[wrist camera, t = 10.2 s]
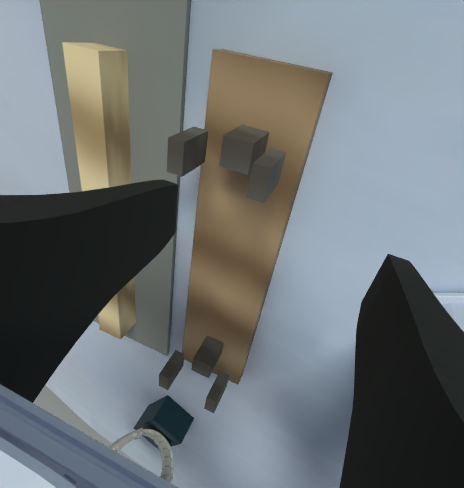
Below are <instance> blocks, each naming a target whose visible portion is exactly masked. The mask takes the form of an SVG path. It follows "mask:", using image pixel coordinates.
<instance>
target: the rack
mask: <svg viewBox="0 0 464 488" xmlns="http://www.w3.org/2000/svg"><path fill="white" fill-rule="evenodd" d="M331 76H332V73H331V72H327V71H322V70H317V69H313V68H308V67H303V66H298V65H294V64H289V63H284V62H280V61H275V60H270V59H266V58H261V57H256V56H251V55H247V54H242V53H237V52H233V51H228V50H223V49H213V51H212V61H211V71H210V81H209V91H208V101H207V111H206V121H205V130H204V129H200V128H197V127H192V128H189V129H187V130H185V131H182V132H180V133H177V134H175V135H173V136H170V137H168V150H167V172H169V173H172V174H175V175H178V176H181V177H182V176H184V175H185V174H187V173H188V172H190V171H192V170H193V169H195V168H196V167H198V166H199V165H201V170H200V180H199V190H198V200H197V210H196V220H195V230H194V240H193V250H192V260H191V270H190V280H189V290H188V300H187V310H186V320H185V329H184V339H183V349H182V353H181V352H179V351H175V352H174V353H173V355H172V356H171V358H170V359H169V361H168V362H167V364H166V365H165V367H164V368H163V370H162V371H161V372H160V374H159V386H161V387H163V388H165V389H167V390H168V389H169V387H170V386H171V384H172V383H173V381H174V379H175V378H176V376H177V375H178V373H179V371H180V370H181V368H182V367H183V362H184V359H185V360H187V361H189V362H191V363H192V370H193V371H195V372H197V373H199V374H201V375H203V376H205V377H208V378H209V376H210V375H211V373H215V374H217V375H218V376H217V378H216V380H215V382H214V384H213V386H212V388H211V390H210V392H209V394H208V396H207V398H206V403H205V408H204V409H206V410H208V411H210V412H212V413H214V412H215V410H216V408H217V405H218V403H219V401H220V399H221V397H222V395H223V393H224V390H225V388H226V386H227V382H228V380H229V381H231V382H234V383H236V384H239V382H240V379H241V377H242V375H243V371H244V368H245V365H246V361H247V358H248V355H249V351H250V348H251V345H252V341H253V338H254V334H255V331H256V328H257V324H258V321H259V318H260V314H261V311H262V308H263V304H264V301H265V298H266V294H267V291H268V288H269V284H270V281H271V277H272V274H273V271H274V267H275V264H276V261H277V257H278V254H279V251H280V247H281V244H282V241H283V237H284V234H285V230H286V227H287V224H288V220H289V217H290V214H291V210H292V207H293V204H294V200H295V197H296V194H297V190H298V187H299V183H300V180H301V177H302V173H303V170H304V167H305V163H306V160H307V157H308V153H309V150H310V147H311V143H312V140H313V137H314V133H315V130H316V126H317V123H318V120H319V116H320V113H321V110H322V106H323V103H324V100H325V96H326V93H327V90H328V86H329V83H330V79H331Z"/></svg>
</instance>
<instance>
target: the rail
mask: <svg viewBox="0 0 464 488" xmlns="http://www.w3.org/2000/svg"><path fill="white" fill-rule="evenodd" d="M62 45H63V52H64V60H65V67H66V75H67V83H68V90H69V98H70V105H71V113H72V120H73V128H74V136H75V143H76V151H77V158H78V166H79V173H80V181H81V188H82V191H88V190H94V189H101V188H108V187H114V186H120V185H126V184H131V154H130V123H129V93H128V62H127V50H123V49H118V48H114V47H110V46H105V45H101V44H97V43H74V42H62ZM98 317H99V325H100V330H102V331H104V332H106V333H108V334H110V335H112V336H114V337H117V338H119V339H122V337H123V336H124V335H125V334H126V333H127V332H128V331H129V330H130V329H131V327H132V326H133V325H134V324H135V323H136V308H135V277H134V278H133V279H132V280H131V281H129V282H128V283H127V284H126V285H125V286H124V287H123V288H122V289H121V290H120V291H119V292H118V293H117V294H116V295H115V296H114V297H113V298H112V299H111V300H110V301H109V303H108V304H107V305H106V306H105V307H104V308H103V310H102V311H101V312H100V313H99V314H98Z"/></svg>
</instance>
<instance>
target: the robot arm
mask: <svg viewBox="0 0 464 488" xmlns="http://www.w3.org/2000/svg"><path fill="white" fill-rule="evenodd" d="M177 201H178V184H176V183H173V182H170V181H167V180H150V181H143V182H137V183H131V184H126V185H120V186H114V187H108V188H101V189H94V190H88V191H81V192H72V193H62V194H47V195H0V488H178V487H176V486H174V485H172V484H171V483H169V482H167V481H166V480H164V479H162V478H160V477H159V476H157V475H155V474H154V473H152V472H150V471H148V470H147V469H145V468H143V467H142V466H140V465H138V464H136V463H135V462H133V461H131V460H130V459H128V458H126V457H124V456H122V455H121V454H119V453H117V452H116V451H114V450H112V449H111V448H109V447H107V446H105V445H104V444H102V443H100V442H99V441H97V440H95V439H93V438H92V437H90V436H88V435H86V434H85V433H83V432H81V431H80V430H78V429H76V428H74V427H73V426H71V425H69V424H67V423H66V422H64V421H63V420H60V419H59V418H57V417H56V416H54V415H52V414H50V413H49V412H47V411H45V410H44V409H42V408H40V407H38V406H36V405H35V404H33V402H34V400H35V399H36V397H37V396H38V394H39V393H40V391H41V390H42V388H43V387H44V386H45V384H46V383H47V381H48V380H49V378H50V377H51V376H52V374H53V373H54V371H55V370H56V368H57V367H58V366H59V364H60V363H61V362H62V360H63V359H64V358H65V356H66V355H67V354H68V352H69V351H70V349H71V348H72V347H73V345H74V344H75V343H76V341H77V340H78V339H79V338H80V336H81V335H82V334H83V333H84V331H85V330H86V329H87V328H88V326H89V325H90V324H91V323H92V321H93V320H94V319H95V318H96V317H97V315H98V314H99V313H100V312H101V311H102V310H103V308H104V307H105V306H106V305H107V304H108V303H109V301H110V300H111V299H112V298H113V297H114V296H115V295H116V294H117V293H118V292H119V291H120V290H121V289H122V288H123V287H124V286H125V285H126V284H127V283H128V282H129V281H131V280H132V279H133V278H134V277H135V276H136V275H137V274H138V273H139V272H140V271H141V270H142V269H143V268H144V267H146V266H147V265H148V264H149V263H150V262H151V261H152V260H153V259H154V258H155V257H156V256H157V255H158V254H159V253H160V252H161V251H162V250H163V248H164V247H165V246H166V245H167V244H168V242H169V241H170V240H171V238H172V237H173V235H174V234H175V233H176V218H177ZM340 488H464V293H433V292H432V291H431V289H430V288H429V287H428V285H427V284H426V282H425V281H424V280H423V278H422V277H421V275H420V274H419V273H418V271H417V270H416V269H415V267H414V266H413V265H412V264H411V262H410V261H408V260H405V259H402V258H399V257H396V256H393V255H390V254H388V255H387V257H386V258H385V260H384V262H383V264H382V266H381V268H380V269H379V271H378V273H377V275H376V277H375V279H374V280H373V282H372V284H371V286H370V288H369V289H368V291H367V293H366V295H365V297H364V299H363V300H362V303H361V308H360V313H359V318H358V323H357V330H356V351H355V379H354V399H353V410H352V416H351V423H350V429H349V436H348V442H347V448H346V454H345V460H344V466H343V471H342V477H341V482H340Z"/></svg>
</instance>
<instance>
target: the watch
mask: <svg viewBox="0 0 464 488" xmlns="http://www.w3.org/2000/svg"><path fill="white" fill-rule="evenodd" d="M193 419H194V418H193V417H192V416H191V415H190V414H188V413H187V412H186V411H185V410H184V409H183V408H182V407H180V406H179V405H178V404H177V403H176V402H175V401H174V400H172V399H171V398H170V397H169V396H168V395H167V396H166V397H164V398H162V399H160V400H158V401H156V402H154V403H153V404H151V405H149V406H148V407H147V409H146V410H145V412H144V413H143V415H142V416H141V418H140V419H139V421H138V422H137V424H136V426H135V427H134V429H135V431H133V432H131V433H129V434H127V435H125V436H123V437H121V438H120V439H118V440H117V441H115V442H114V443H113V444H112V445H110V446H109V448H111V449H112V450H114V451H116V452H117V451H118V450H120V449H121V448H122V447H123V446H124V445H126V444H127V443H128V442H130V441H131V440H133V439H138V438H140V437H141V435H142V436H144V437H145V438H146V439H147V440H148V441H149V442H151V443H152V444H153V445H154V446H155V447H156V448H158V449H159V450H160V452H162V453H161V456H162V461H163V462H162V470H164V471H162V474H161V477H160V478H162V479H164V480H166V481H167V482H169V483H171V481H172V479H173V477H172V476H173V468H174V459H173V453H172V450H170V449H171V447H172V446H175V445H178V444H181V443H182V441H183V439H184V437H185V435H186V433H187V431H188V429H189V427H190V425H191V423H192V421H193ZM168 456H169V457H168ZM167 466H168V467H167Z"/></svg>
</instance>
